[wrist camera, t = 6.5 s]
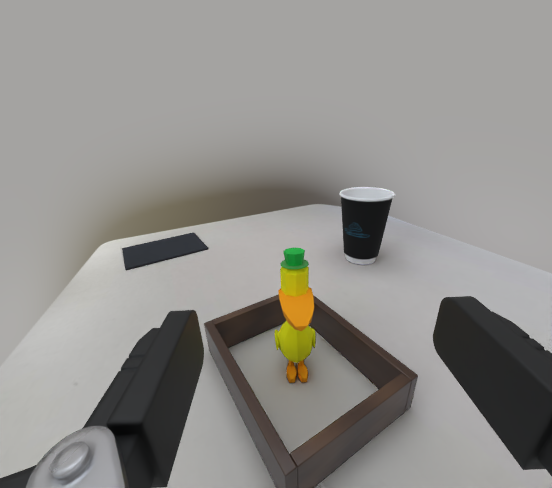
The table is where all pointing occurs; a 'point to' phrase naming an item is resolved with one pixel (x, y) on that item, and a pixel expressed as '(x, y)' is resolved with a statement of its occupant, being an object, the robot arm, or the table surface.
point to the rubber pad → (161, 250)
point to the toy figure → (295, 314)
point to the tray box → (341, 433)
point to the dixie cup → (364, 222)
